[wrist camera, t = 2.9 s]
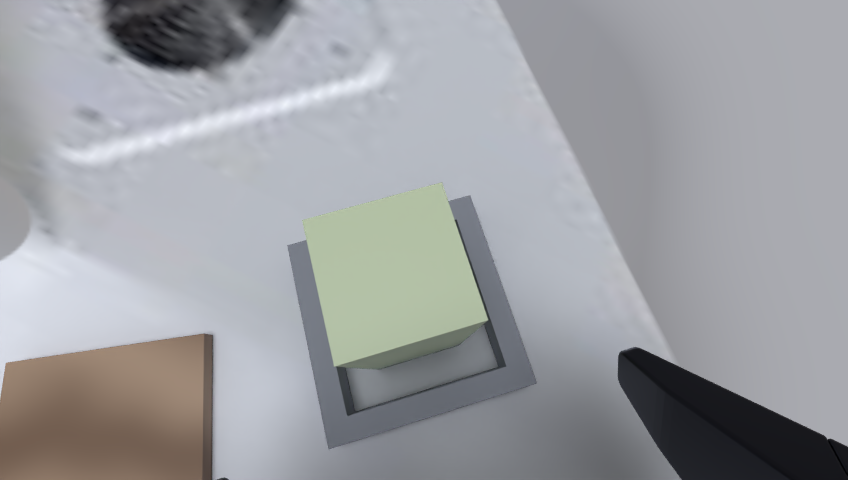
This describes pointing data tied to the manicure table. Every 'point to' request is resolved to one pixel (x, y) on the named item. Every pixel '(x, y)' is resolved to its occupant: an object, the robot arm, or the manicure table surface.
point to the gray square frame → (434, 401)
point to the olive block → (393, 279)
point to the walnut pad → (110, 413)
